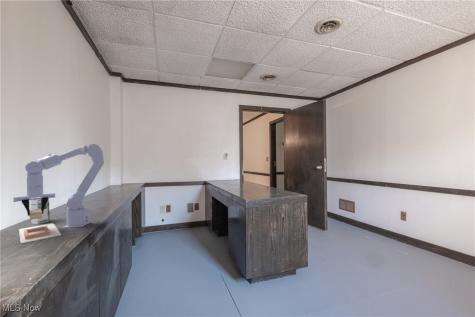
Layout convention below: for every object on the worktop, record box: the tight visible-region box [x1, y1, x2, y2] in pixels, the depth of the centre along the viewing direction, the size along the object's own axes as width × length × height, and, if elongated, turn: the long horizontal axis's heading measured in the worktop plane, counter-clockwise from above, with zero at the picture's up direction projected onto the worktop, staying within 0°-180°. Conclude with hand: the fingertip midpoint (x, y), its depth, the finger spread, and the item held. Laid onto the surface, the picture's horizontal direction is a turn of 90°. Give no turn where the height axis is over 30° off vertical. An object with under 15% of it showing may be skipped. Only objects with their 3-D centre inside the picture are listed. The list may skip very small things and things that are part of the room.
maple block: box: [28, 209, 42, 220], centre depth 102 cm, size 8×4×3 cm, turn 47°
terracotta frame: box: [24, 226, 50, 240], centre depth 98 cm, size 12×8×2 cm, turn 47°
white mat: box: [18, 222, 62, 245], centre depth 101 cm, size 13×26×1 cm, turn 47°
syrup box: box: [30, 197, 51, 225], centre depth 117 cm, size 6×6×14 cm
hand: (35, 214), depth 102 cm, fingers closed on maple block, 4 cm apart
